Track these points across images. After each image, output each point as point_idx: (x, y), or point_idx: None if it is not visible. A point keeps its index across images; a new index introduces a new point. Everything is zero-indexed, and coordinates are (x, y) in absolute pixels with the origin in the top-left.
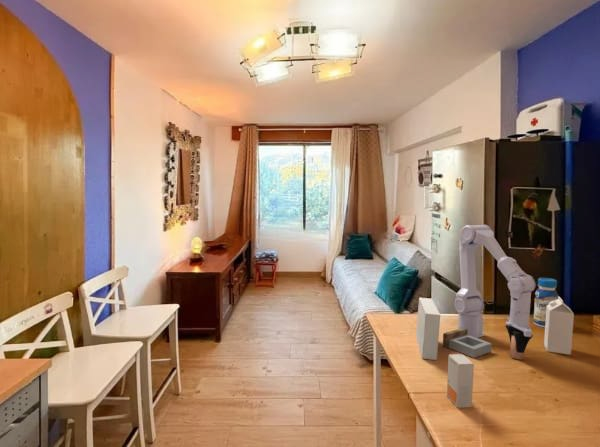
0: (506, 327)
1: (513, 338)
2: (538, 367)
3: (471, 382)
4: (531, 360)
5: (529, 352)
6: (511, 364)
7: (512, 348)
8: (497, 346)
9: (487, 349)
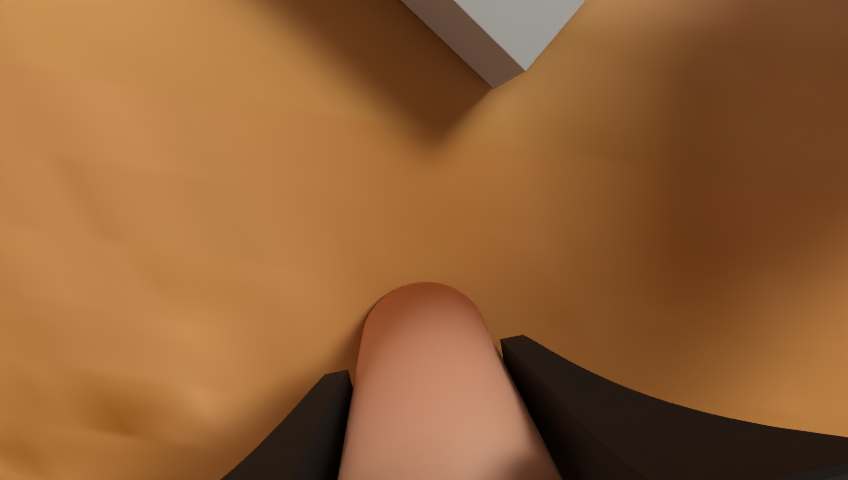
0: (782, 453)
1: (382, 446)
2: None
3: None
4: None
5: None
6: (216, 256)
7: (389, 336)
8: (691, 193)
9: (440, 19)
